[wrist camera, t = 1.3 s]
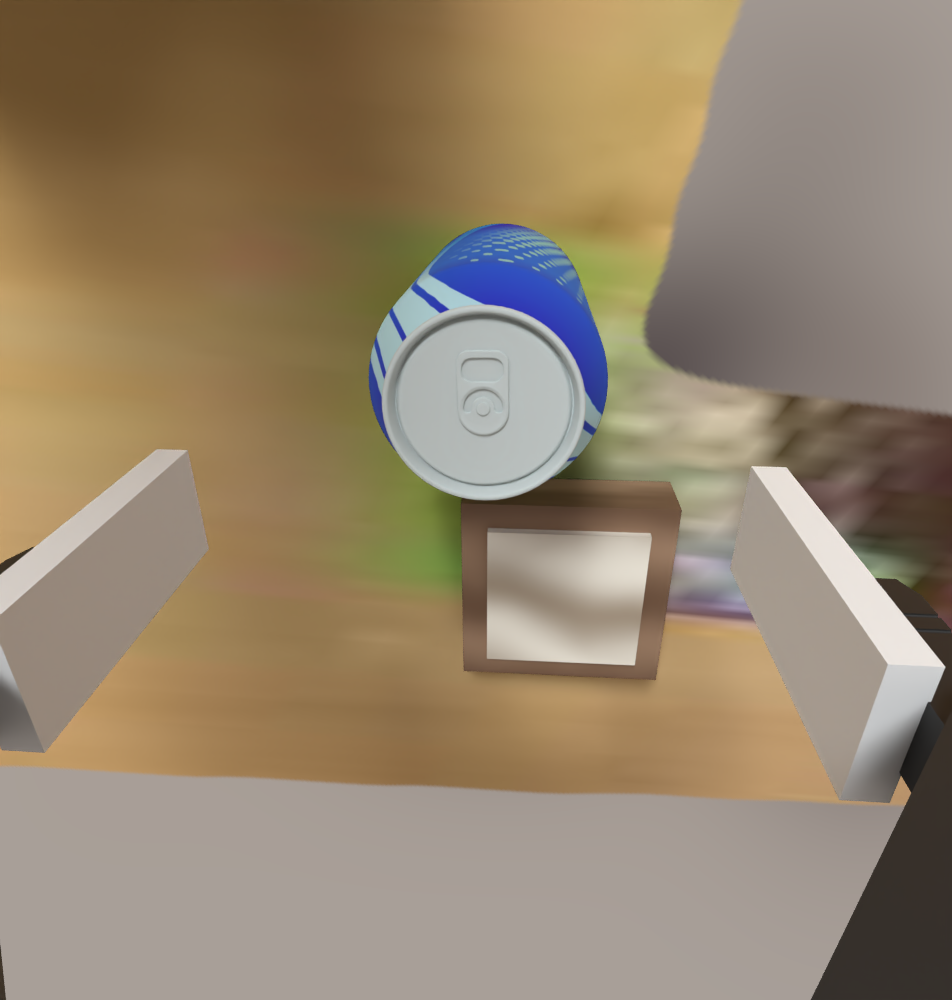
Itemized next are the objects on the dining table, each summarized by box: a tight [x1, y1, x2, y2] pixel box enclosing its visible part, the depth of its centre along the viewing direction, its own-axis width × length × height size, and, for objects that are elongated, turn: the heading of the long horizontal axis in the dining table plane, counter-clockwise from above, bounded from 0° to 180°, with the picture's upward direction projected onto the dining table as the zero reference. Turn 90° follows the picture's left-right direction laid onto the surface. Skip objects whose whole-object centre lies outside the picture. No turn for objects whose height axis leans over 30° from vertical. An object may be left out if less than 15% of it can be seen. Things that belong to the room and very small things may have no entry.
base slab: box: [461, 479, 682, 680], centre depth 41 cm, size 12×12×4 cm
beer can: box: [369, 224, 608, 500], centre depth 29 cm, size 8×8×16 cm
